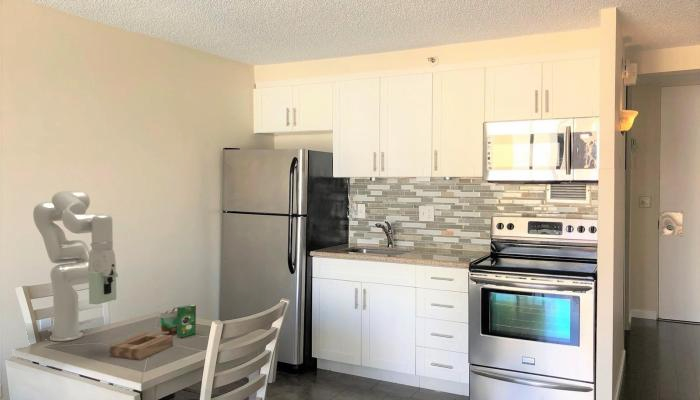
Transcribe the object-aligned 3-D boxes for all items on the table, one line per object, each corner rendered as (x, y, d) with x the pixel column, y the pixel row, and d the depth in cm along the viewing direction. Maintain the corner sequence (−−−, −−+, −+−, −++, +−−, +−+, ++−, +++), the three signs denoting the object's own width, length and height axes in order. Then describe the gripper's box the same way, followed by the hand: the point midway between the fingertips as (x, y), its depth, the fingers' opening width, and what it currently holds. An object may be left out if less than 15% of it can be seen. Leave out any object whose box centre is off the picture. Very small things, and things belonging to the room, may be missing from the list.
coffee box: (192, 333, 251) (192, 303, 250) (196, 334, 249) (196, 304, 248) (176, 336, 245) (176, 306, 244) (180, 338, 243) (180, 307, 242)
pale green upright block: (89, 303, 218) (88, 272, 217) (108, 298, 227) (107, 268, 227) (97, 304, 217) (97, 273, 216) (116, 299, 226) (115, 269, 226)
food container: (173, 337, 245) (172, 314, 244) (159, 336, 246) (159, 313, 245) (186, 329, 257) (186, 307, 256) (174, 328, 258) (174, 306, 258)
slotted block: (109, 356, 218) (109, 345, 218) (144, 341, 237) (144, 332, 237) (140, 360, 214) (140, 349, 214) (172, 345, 233) (172, 335, 233)
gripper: (77, 246, 220) (78, 293, 221) (112, 248, 215) (113, 296, 215) (92, 244, 227) (93, 290, 228) (126, 246, 222) (127, 293, 223)
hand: (102, 292), depth 222 cm, fingers closed on pale green upright block, 4 cm apart
